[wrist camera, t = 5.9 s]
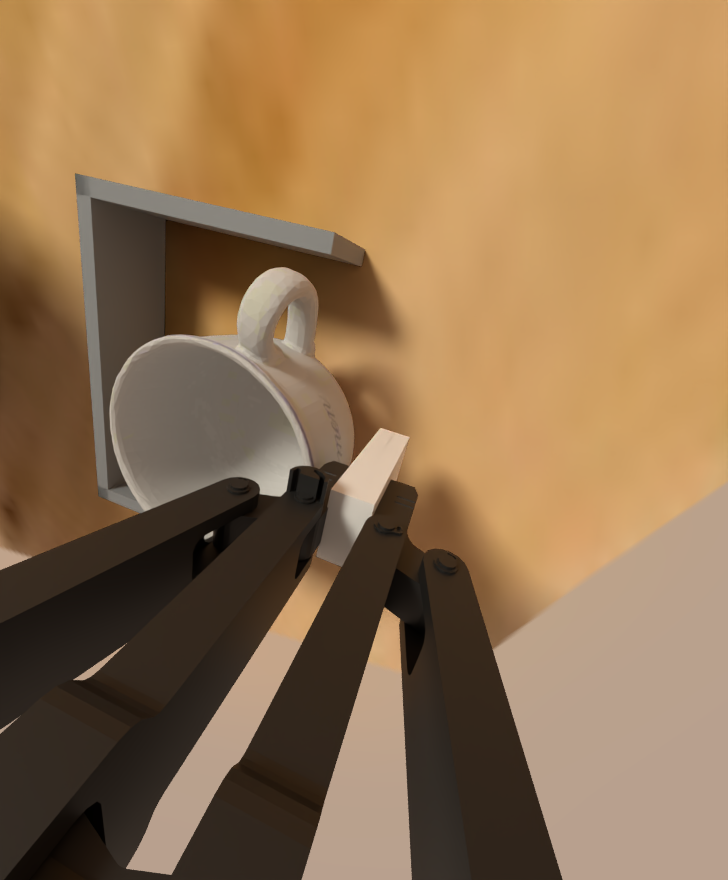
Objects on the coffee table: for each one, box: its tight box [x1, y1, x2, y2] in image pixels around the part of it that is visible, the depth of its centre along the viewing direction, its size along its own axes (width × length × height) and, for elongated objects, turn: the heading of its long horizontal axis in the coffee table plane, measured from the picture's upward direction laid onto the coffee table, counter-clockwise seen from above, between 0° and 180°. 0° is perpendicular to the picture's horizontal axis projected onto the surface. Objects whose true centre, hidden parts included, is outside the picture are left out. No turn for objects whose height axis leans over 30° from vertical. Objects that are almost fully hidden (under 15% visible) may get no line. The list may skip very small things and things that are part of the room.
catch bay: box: [75, 174, 365, 513], centre depth 21 cm, size 13×18×4 cm
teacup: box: [110, 267, 354, 539], centre depth 18 cm, size 14×11×8 cm
